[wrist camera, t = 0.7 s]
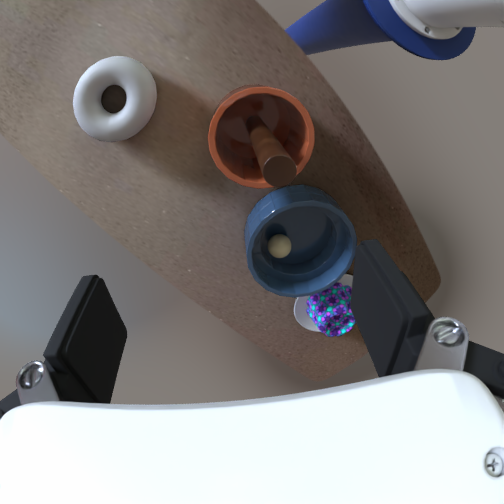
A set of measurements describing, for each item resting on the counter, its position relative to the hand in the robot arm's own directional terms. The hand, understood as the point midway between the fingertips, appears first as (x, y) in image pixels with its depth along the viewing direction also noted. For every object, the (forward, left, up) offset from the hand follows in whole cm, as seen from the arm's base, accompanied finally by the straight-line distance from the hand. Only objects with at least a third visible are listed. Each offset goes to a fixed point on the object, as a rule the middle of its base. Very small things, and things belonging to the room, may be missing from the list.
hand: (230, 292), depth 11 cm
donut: (+9, -10, -27) cm, 31 cm away
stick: (-3, 0, -27) cm, 27 cm away
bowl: (-3, +15, -27) cm, 31 cm away
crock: (-3, 0, -27) cm, 27 cm away
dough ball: (0, +15, -25) cm, 29 cm away
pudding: (-4, +29, -27) cm, 40 cm away
